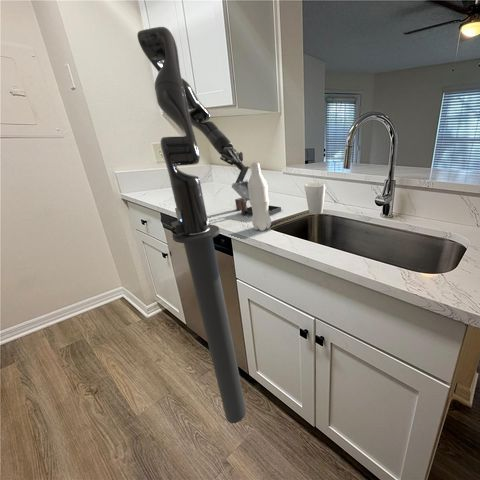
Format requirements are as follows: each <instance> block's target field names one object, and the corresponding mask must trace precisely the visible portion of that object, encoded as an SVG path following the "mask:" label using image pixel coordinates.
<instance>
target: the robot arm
mask: <svg viewBox="0 0 480 480" xmlns="http://www.w3.org/2000/svg"><path fill="white" fill-rule="evenodd" d="M136 34H137V35H136V37H137V42H138V44H139V46H140V48H141V51H142V52H143V53H144V55H145V56H146V58H147V60H148V61H149V62H150V63H151V64H152V66H153V67H154V68H155V70H156V71H157V72H158V73H157V75H156V77H155V80H154V92H155V93H154V94H155V97H156V102H157V105H158V107H159V108H160V110H161V111H162V112H163V114H165V116H166V117H168V118H169V119H170V120H171V122H173V123H174V124H175V125H176V126H177V127H178V128H179V130H180V132H181V133H182V135H183V136H181V135H179V136H176V135H175V136H163V137H161V138H160V149H161V153H162V156H163V160H164V163H165V166H166V169H167V173H168V177H169V182H170V186H171V191H172V195H173V199H174V203H175V208H174V211H175V215H176V219H177V220H175V221H171V222H170V224H171V227H172V228H171V229H170V231H171V234H172V235H173V234H179V233H182V234H183V235H184V236H186V237H188V236H196V235H201V234H204V233H207V232H208V231H209V230H210V228H209V225H210V219H209V218H208V215H207V210H206V205H205V199H204V195H203V189H202V185H201V179H200V177H199V176H197V175H196V174H195V175H194V174H190V173H186V172H184V171H182V170H180V169H179V168H178V167H184V166H195V165H198V164H199V163H200V160H201V159H200V157H201V156H200V150H199V147H198V142H197V139H196V135H195V132H194V129H196V130H198V131H199V132H200V133H202V134H203V136H205V138H206V139H207V140H208V142H209V143H210V145H211V146H212V147H213V148H214V150H216V152H217V153H218V154H219V155H220V157H219V160H221V161H223V162H225V163H227V164H228V165H230V166H235V167H237V169H238V170H239V171H241V169H242V167H246V166H245V165H244V164H243V163H242V162H243V161H244V153H243V152H242V151H240V152H238V151H237V150H236V149H235V148H234V145H233V143H232V142H231V141H230V139H228V137H227V136H226V135H225V133H223V131H222V130H220V129H219V127H218V126H217V124H216V123H214V122H213V121H211V120H210V119H211V113H210V111H209V110H208V109H207V108H206V107H205V106H204V105H203V104H202V103H201V101H200V100H199V98H198V97H197V95H196V93H195V91H194V90H193V88H192V86H191V85H190V83H188V82H187V81H186V80H185V78H183V77H182V73H181V68H180V59H179V51H178V47H177V42H176V40H175V38H174V35H173V34H172V32H171V31H170V30H169V28H167V27H166V26H157V27H151V28H146V29H142V30H139V31H138V32H137V33H136Z"/></svg>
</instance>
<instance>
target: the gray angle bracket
mask: <svg viewBox="0 0 480 480" xmlns="http://www.w3.org/2000/svg"><path fill="white" fill-rule="evenodd" d="M249 168H250V167H249V166H245V167H242V169H241V170H239V171H240V172H239V174H238V176H237V178H236V180H235V182H233V183H232V184H231V188H232V189H233V190H234V191H235V192H236V194H237V195H239V196H240V198H243V199H244V200H245V203H246V204H247V203H248V202H249V201H250V198H249V190H248V182H249V180H246V179H245V177H246V175H247V173H248V170H249ZM244 179H245V180H244Z"/></svg>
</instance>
